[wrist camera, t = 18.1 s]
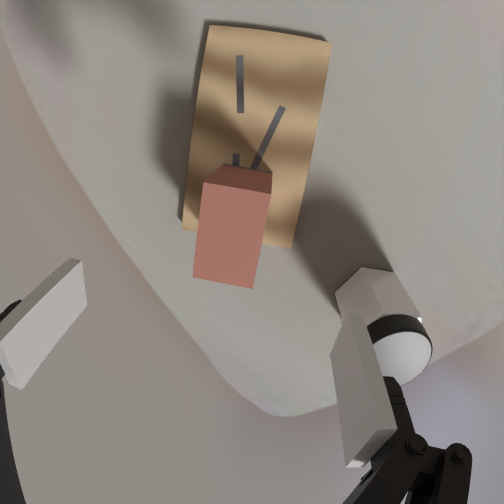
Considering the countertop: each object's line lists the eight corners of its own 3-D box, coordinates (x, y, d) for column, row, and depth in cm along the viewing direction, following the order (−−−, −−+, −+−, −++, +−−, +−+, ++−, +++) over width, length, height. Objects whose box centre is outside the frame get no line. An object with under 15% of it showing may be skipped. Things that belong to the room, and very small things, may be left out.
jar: (328, 277, 37) (345, 344, 26) (392, 255, 35) (431, 314, 24) (344, 332, 40) (360, 402, 29) (402, 313, 38) (433, 377, 27)
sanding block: (223, 163, 31) (203, 182, 23) (272, 172, 31) (271, 194, 23) (212, 236, 34) (192, 277, 26) (258, 245, 34) (252, 288, 26)
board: (212, 28, 26) (209, 25, 25) (330, 45, 26) (332, 43, 25) (184, 225, 35) (181, 229, 34) (290, 244, 35) (291, 248, 34)
